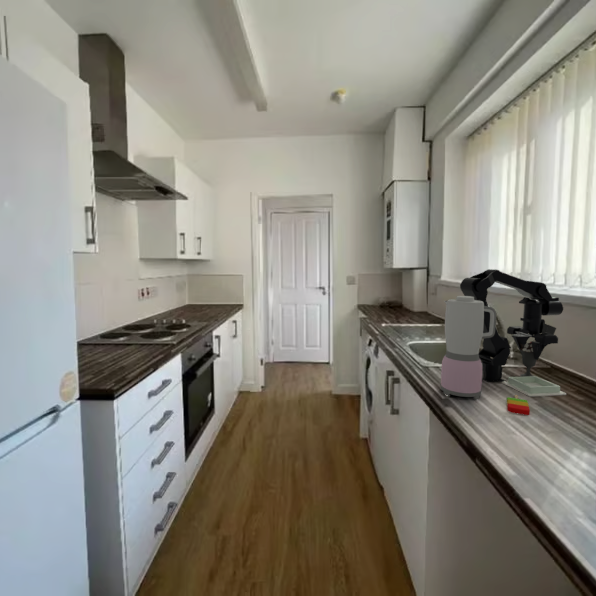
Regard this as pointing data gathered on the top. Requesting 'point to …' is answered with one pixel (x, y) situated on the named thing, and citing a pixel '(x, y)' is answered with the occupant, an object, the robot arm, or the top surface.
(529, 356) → the sundae
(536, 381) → the holder cell
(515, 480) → the top surface
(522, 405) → the popsicle
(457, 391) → the blender
